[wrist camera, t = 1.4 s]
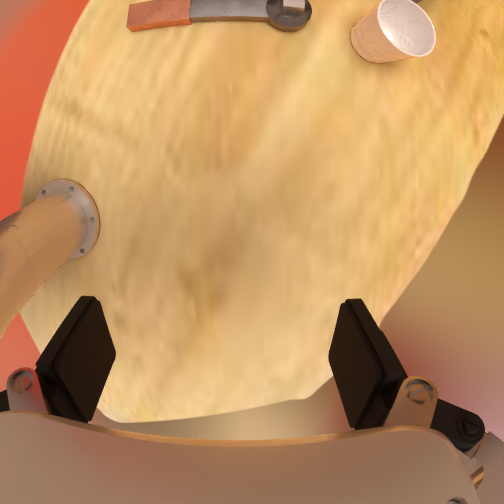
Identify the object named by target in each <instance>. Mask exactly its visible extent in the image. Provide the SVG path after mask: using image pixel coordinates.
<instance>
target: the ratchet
mask: <svg viewBox="0 0 504 504" xmlns="http://www.w3.org/2000/svg"><path fill="white" fill-rule="evenodd" d="M311 14H312V8H311V5H310V3H309V2H308V0H153V1H147V2H141V3H136V4H131V5H129V11H128V19H127V28H128V29H129V30H131V31H132V32H134V31H140V30H146V29H153V28H160V27H169V26H178V25H190V24H192V22H210V21H254V22H268V23H269V24H270V25H271V26H272V27H273V28H275V29H277V30H279V31H283V32H294V31H297V30H299V29H301V28H302V27H303V26H304V25H305V24H306V23H307V21H308V20H309V19H310V17H311Z"/></svg>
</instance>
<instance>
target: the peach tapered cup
mask: <svg viewBox="0 0 504 504" xmlns="http://www.w3.org/2000/svg"><path fill="white" fill-rule="evenodd" d="M350 39H351V42H352V46H353V48H354V49H355V50H356V52H357V53H358V54H359V55H360V56H361V57H363V58H364V59H366V60H367V61H369V62H375V63H382V62H388V61H397V60H404V59H410V58H416V57H423V56H426V55H428V54H429V53H430V52H431V51H432V50H433V49H434V46H435V43H436V34H435V29H434V26H433V24H432V22H431V20H430V18H429V17H428V15H427V14H426V13H425V11H424V10H423V9H422V8H421V7H420V6H418V5H417V4H416V3H414V2H413V1H411V0H382V1H381V2H379V3H378V4H377V5H376V6H374V7H373V8H372V9H371V10H369V11H368V12H367V13H366V14H365V15H364V16H363V17H362V18H361V19H360V20H359V21H358V22H357V23H356V24H355V25H354V26H353V27H352V29H351V34H350Z"/></svg>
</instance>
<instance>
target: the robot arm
mask: <svg viewBox="0 0 504 504" xmlns="http://www.w3.org/2000/svg"><path fill="white" fill-rule="evenodd" d="M93 218H94V219H93ZM98 233H99V215H98V212H97V208H96V206H95V203H94V201H93V199H92V198H91V196H90V195H89V193H88V192H87V191H86V190H85V189H84V188H83V187H82V186H80V185H79V184H78V183H76V182H74V181H71V180H67V179H58V180H54V181H51V182H49V183H47V184H46V185H45V186H43V187H42V188H41V189H40V191H39V192H38V194H37V196H36V198H35V201H34V202H33V203H31V204H29V205H27V206H25V207H24V208H22V209H20V210H18V211H17V212H15V213H13V214H11V215H10V216H8V217H7V218H5V219H3V220H2V221H0V341H1V339H2V337H3V335H4V333H5V331H6V329H7V327H8V326H9V324H10V323H11V321H12V320H13V319H14V317H15V316H16V314H17V313H18V312H19V311H20V309H21V308H22V307H23V306H24V305H25V303H26V302H27V301H28V300H29V299H30V298H31V297H32V296H33V294H34V293H35V292H36V291H37V290H38V289H39V288H40V287H41V286H42V285H43V283H44V282H45V281H46V280H47V279H48V278H49V277H50V276H51V275H52V274H53V273H54V272H55V271H56V270H57V269H58V268H59V266H60V265H61V264H62V263H63V262H64V261H65V260H66V259H77V258H80V257H82V256H84V255H85V254H87V253H88V252H89V251H90V250H91V248H92V247H93V246H94V244H95V242H96V240H97V238H98ZM115 357H116V351H115V348H114V345H113V342H112V339H111V336H110V333H109V330H108V326H107V323H106V320H105V317H104V313H103V310H102V306H101V303H100V301H98V300H97V299H96V298H95V297H94V296H81V297H80V298H79V300H78V301H77V302H76V304H75V305H74V306H73V308H72V309H71V311H70V312H69V314H68V315H67V316H66V318H65V319H64V321H63V322H62V324H61V325H60V327H59V328H58V330H57V331H56V333H55V334H54V336H53V337H52V339H51V340H50V342H49V343H48V345H47V346H46V348H45V350H44V351H43V353H42V354H41V356H40V358H39V359H38V361H37V363H36V366H37V368H36V369H35V371H34V370H33V369H31V368H26V367H24V368H19V369H17V370H15V371H14V372H13V373H12V374H11V375H10V376H9V378H8V380H7V390H4V391H2V392H0V504H504V442H503V441H502V440H501V439H499V438H498V437H497V436H495V435H494V434H493V433H491V432H490V431H489V432H488V433H486V432H485V427H484V423H483V421H482V419H481V418H480V417H479V416H478V415H476V414H474V413H472V412H470V411H467V410H465V409H462V408H460V407H457V406H455V405H453V404H450V403H448V402H445V401H443V400H441V399H438V390H437V388H436V386H435V385H434V383H433V382H431V381H430V380H429V379H427V378H425V377H422V376H411V377H408V376H407V374H406V372H405V370H404V368H403V367H402V365H401V363H400V361H399V359H398V358H397V356H396V354H395V353H394V350H393V349H392V347H391V345H390V343H389V342H388V340H387V338H386V336H385V335H384V333H383V332H382V331H381V330H380V329H379V328H378V326H377V324H376V322H375V321H374V319H373V317H372V316H371V314H370V312H369V311H368V309H367V307H366V306H365V304H364V302H363V301H362V299H347V300H346V301H345V303H342V304H341V306H340V310H339V314H338V318H337V323H336V327H335V331H334V335H333V339H332V343H331V347H330V350H329V356H328V357H329V363H330V366H331V369H332V372H333V375H334V378H335V381H336V384H337V388H338V391H339V393H340V397H341V400H342V403H343V406H344V410H345V413H346V416H347V419H348V422H349V425H350V427H351V428H355V431H349V432H343V433H335V434H327V435H319V436H310V437H300V438H289V439H288V438H287V439H272V440H271V439H270V440H204V439H203V440H202V439H187V438H176V437H175V438H174V437H165V436H156V435H149V434H141V433H135V432H128V431H122V430H116V429H111V428H106V427H101V426H97V425H92V424H88V421H91V420H92V418H93V415H94V412H95V410H96V407H97V404H98V401H99V399H100V396H101V393H102V391H103V388H104V385H105V383H106V380H107V378H108V375H109V373H110V370H111V368H112V365H113V363H114V360H115Z"/></svg>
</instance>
